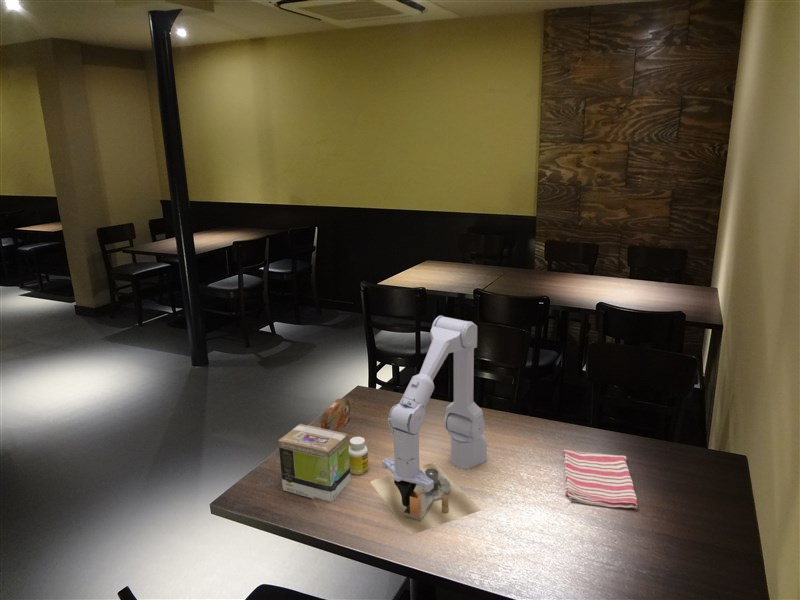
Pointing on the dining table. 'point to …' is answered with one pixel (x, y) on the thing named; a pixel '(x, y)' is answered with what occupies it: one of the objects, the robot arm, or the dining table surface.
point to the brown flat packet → (336, 415)
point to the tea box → (314, 462)
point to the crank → (425, 499)
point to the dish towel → (598, 479)
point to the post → (433, 477)
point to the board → (434, 515)
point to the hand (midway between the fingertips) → (407, 504)
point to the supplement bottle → (358, 456)
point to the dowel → (445, 503)
